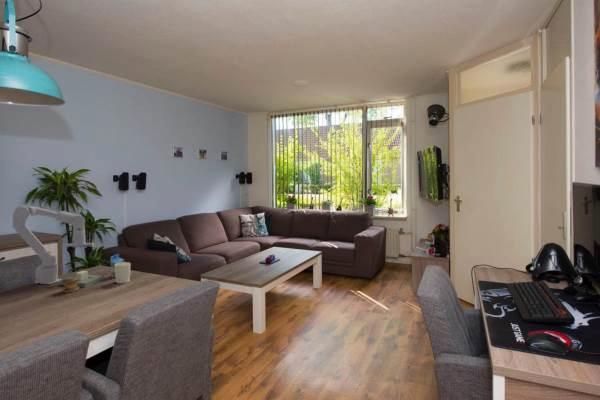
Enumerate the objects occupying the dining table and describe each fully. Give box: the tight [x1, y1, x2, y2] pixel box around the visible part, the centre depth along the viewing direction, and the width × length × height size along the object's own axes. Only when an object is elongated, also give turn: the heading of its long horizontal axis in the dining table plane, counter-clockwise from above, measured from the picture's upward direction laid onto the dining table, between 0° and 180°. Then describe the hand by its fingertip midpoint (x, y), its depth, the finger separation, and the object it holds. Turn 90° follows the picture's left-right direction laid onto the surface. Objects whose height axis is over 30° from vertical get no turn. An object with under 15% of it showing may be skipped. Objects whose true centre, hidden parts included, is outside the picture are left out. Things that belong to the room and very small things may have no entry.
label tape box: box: [110, 253, 126, 279], centre depth 202 cm, size 9×4×12 cm, turn 179°
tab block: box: [75, 270, 89, 281], centre depth 187 cm, size 3×5×6 cm, turn 172°
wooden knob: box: [61, 276, 80, 294], centre depth 175 cm, size 7×7×6 cm
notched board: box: [60, 274, 105, 288], centre depth 188 cm, size 14×14×2 cm
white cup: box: [115, 261, 131, 284], centre depth 190 cm, size 8×8×10 cm
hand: (80, 259), depth 196 cm, fingers open, 7 cm apart
